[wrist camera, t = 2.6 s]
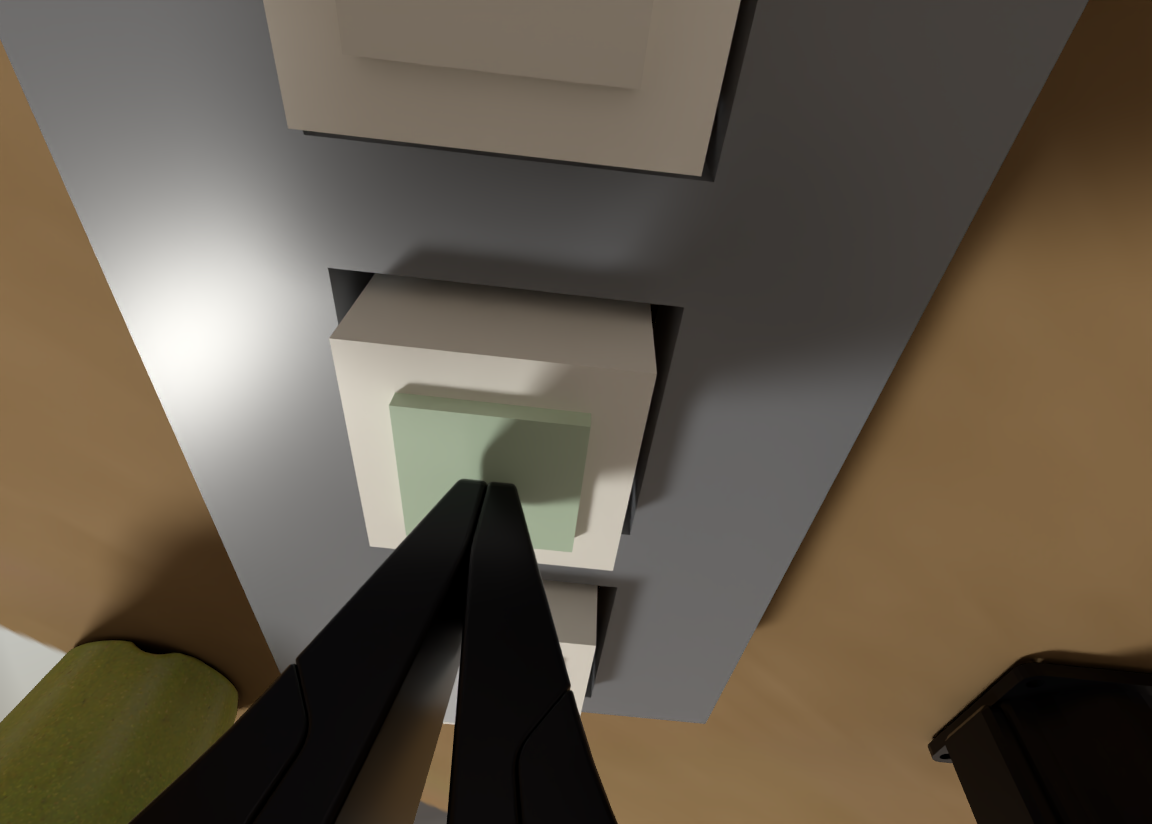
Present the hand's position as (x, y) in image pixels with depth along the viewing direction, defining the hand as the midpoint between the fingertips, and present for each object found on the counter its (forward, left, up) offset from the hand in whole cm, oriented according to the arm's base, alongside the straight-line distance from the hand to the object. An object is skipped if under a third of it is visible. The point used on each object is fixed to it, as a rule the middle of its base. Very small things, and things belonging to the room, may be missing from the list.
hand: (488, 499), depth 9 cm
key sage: (0, 0, -3) cm, 3 cm away
